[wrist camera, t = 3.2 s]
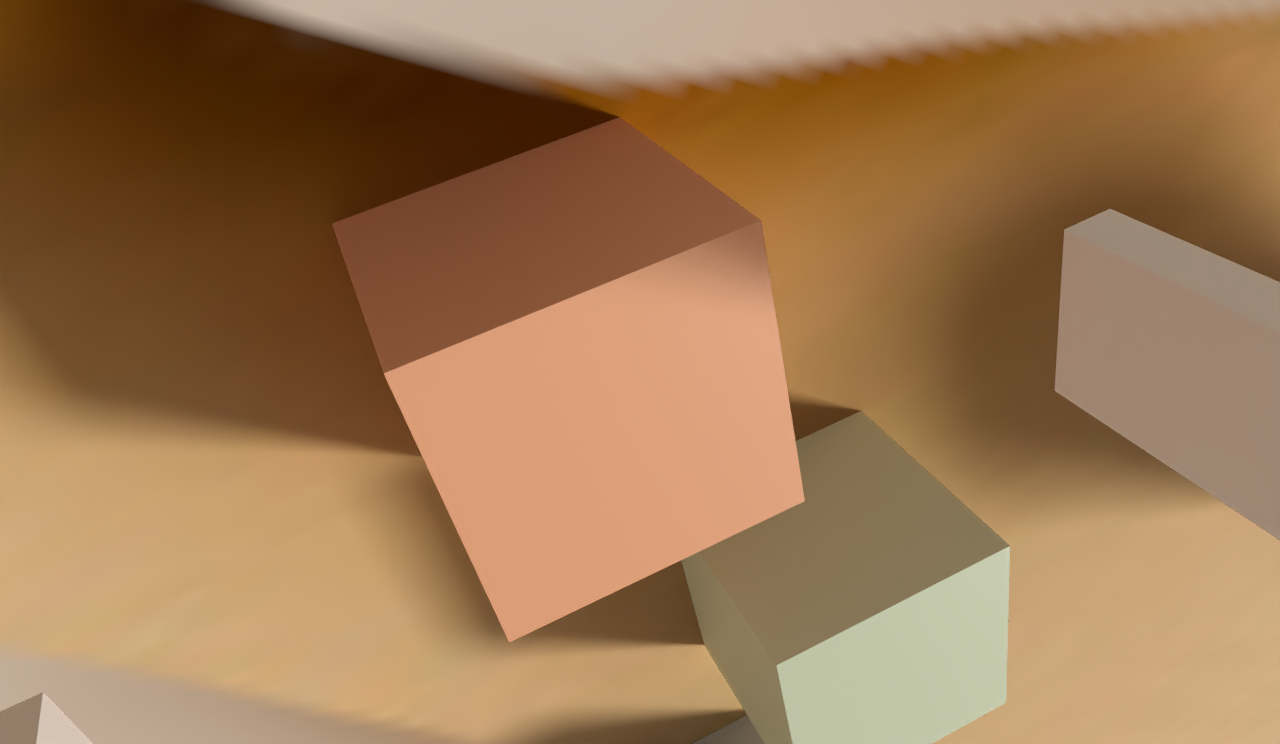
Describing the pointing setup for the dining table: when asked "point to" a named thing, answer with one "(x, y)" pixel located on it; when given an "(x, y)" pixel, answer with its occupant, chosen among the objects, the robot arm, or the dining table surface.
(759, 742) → the slate cube
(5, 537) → the dining table surface
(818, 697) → the sage cube
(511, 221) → the terracotta cube
